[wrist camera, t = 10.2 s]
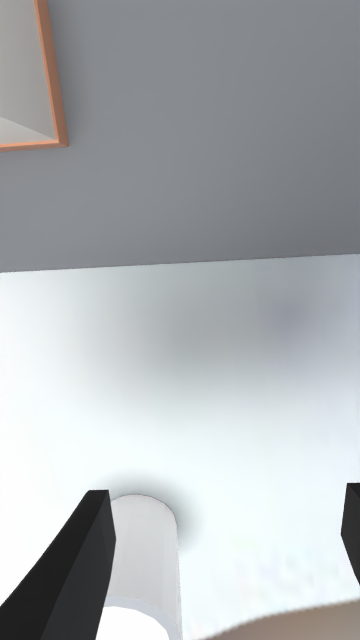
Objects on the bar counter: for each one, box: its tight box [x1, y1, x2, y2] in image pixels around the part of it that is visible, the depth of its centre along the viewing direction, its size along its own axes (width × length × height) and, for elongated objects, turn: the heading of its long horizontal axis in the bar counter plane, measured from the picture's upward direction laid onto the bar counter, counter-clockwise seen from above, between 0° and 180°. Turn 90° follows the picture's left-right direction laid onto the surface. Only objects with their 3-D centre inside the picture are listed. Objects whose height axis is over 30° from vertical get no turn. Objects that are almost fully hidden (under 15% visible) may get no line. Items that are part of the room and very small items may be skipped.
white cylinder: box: [96, 494, 182, 640], centre depth 22 cm, size 7×7×7 cm
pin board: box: [0, 0, 360, 273], centre depth 15 cm, size 22×16×2 cm
